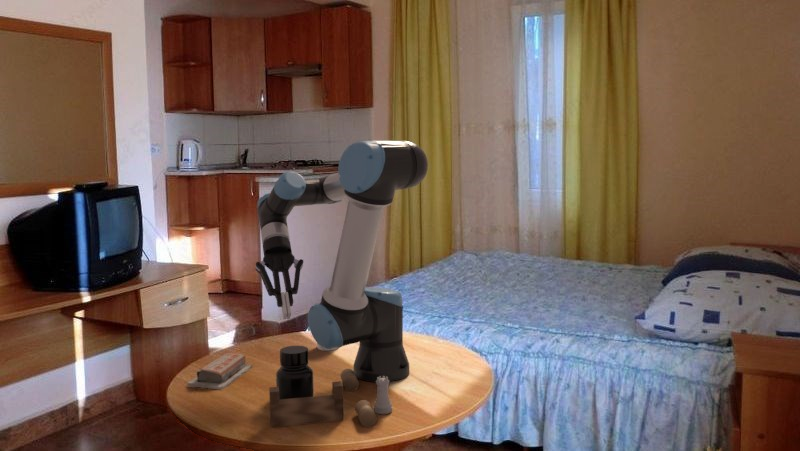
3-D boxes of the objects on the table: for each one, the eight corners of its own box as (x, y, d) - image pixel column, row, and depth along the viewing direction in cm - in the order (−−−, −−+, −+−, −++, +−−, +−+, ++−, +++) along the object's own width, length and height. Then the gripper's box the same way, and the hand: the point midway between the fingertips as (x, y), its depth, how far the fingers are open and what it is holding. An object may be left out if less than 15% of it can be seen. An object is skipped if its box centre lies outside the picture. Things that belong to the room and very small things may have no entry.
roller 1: (340, 382, 176) (340, 368, 176) (353, 381, 177) (354, 368, 177) (344, 391, 170) (344, 377, 169) (358, 391, 170) (359, 377, 170)
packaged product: (219, 349, 191) (252, 352, 188) (219, 366, 191) (252, 369, 189) (186, 370, 173) (222, 373, 171) (187, 388, 174) (222, 391, 172)
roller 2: (354, 415, 155) (355, 399, 154) (369, 415, 155) (371, 399, 155) (359, 427, 148) (361, 411, 147) (375, 427, 149) (377, 411, 148)
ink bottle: (301, 387, 173) (300, 341, 171) (322, 396, 166) (321, 349, 165) (268, 397, 166) (267, 349, 165) (288, 407, 160) (287, 358, 158)
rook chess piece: (377, 416, 154) (377, 382, 153) (370, 409, 158) (369, 376, 157) (395, 413, 156) (395, 379, 155) (388, 406, 160) (387, 373, 159)
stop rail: (341, 415, 155) (341, 381, 154) (343, 420, 152) (343, 385, 151) (270, 422, 151) (269, 387, 150) (270, 427, 148) (269, 392, 147)
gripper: (298, 249, 191) (311, 321, 178) (251, 252, 187) (259, 326, 173) (301, 233, 186) (314, 306, 172) (252, 235, 182) (261, 310, 168)
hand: (287, 316), depth 173 cm, fingers closed
